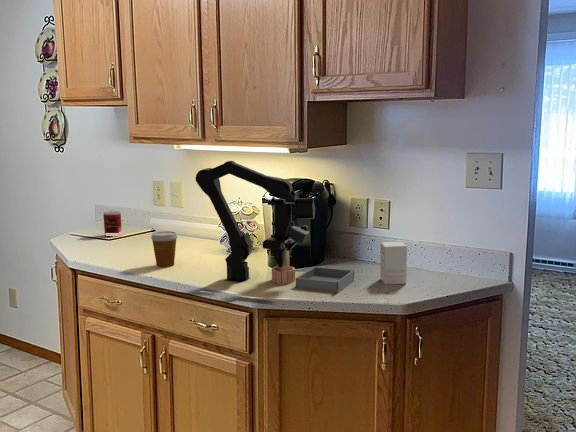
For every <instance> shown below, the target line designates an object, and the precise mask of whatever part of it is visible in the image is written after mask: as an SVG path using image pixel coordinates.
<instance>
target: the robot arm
mask: <svg viewBox="0 0 576 432" xmlns="http://www.w3.org/2000/svg"><path fill="white" fill-rule="evenodd" d="M229 174H230V175H231V176H234V177H236V178H239V179H241V180H244V181H246V182H248V183H251V184H254V185H256V186H258V187H260V188H263V189H264V190H265V191H266V192H267V193H268V194H270V195H271V196H272V198H271V199H270V200H269V201H268V202H267V205H268V206H273V221H272V222H271V226H273V234H271V237H269V238H266V239H264V241H262V249H266V250H269V251H270V253H271V254H272V257H273V258H274V260H275V263H276V265H277V264H278V266H279V267H282V266H283V258H284V251H285V250H289V258H291V253H292V251H293V248H294V247H295V246H296V245H298V243H299V244H303V243H306V242H307V240H308V238H309V236H310V235H311V233H310V232H311V231H310V229H309V225H306V224H304V225H302V226H296V222H295V221H294V220H293V218H292V217H295V218H296V219H297V220H315V216H316V206H315V200H314V199H315V198H314V197H307V198H305V197H304V198H303V197H302V198H300V197H299V196H298V195H297V194H296V192H295V191H294V190H293V185H292V182H291V181H290V180H288V179H286V178H281V177H277V176H270V175H266V174H264V173H262V172H258V171H256V170H254V169H251V168H250V167H247V166H244V165H242V164H239V163H237V162H236V161H234V160H228V161H225V162H224V163H222V164H220V165H217V166H215V167H213V168H212V167H207V168H203V169H200V170H199V171H197V173H196V176H195V182H196V184H197V185H198V187H199V189H201V191H202V192H203V193H204V194H205V195H206V196H208V198H209V199H210V202H211V203H212V206H213V209H214V210H215V212H216V214H217V216H218V218H219V220H220V221H221V224H222V225H223V228H224V230H225V232H226V234H227V236H228V242H229V243H228V244H229V248H230V250H231V253H229V255H228V256H226V258H225V263H226V279H224V281H225V282H232V283H233V282H235V283H243V282H245V281H248V280H249V279H251V277H250V267H249V266H248V261H247V259H248V257H249V256H250V255H251V254H252V253H253V250H254V245H253V244H254V241H253V240H252V238H251V235H250V233H249V232H248V231H247V232H246V233H244V232H243V230H242V229H241V228H240V226H239V224H238V222H237V220H236V218H235V216H234V214H233V212H232V210H231V208H230V205H229V204H228V202H227V200H226V198H225V196H224V194H223V192H222V187H221V181H220V178H223V177H225V176H227V175H229ZM292 215H293V216H292Z"/></svg>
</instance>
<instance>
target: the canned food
mask: <svg viewBox="0 0 576 432" xmlns="http://www.w3.org/2000/svg"><path fill="white" fill-rule="evenodd" d="M121 214H122V213H121V211H117V210H111V211H110V210H109V211H105V212H104V211H103V228H104V234H105V233H119V232H121V231H122V215H121Z"/></svg>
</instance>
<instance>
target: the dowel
mask: <svg viewBox="0 0 576 432" xmlns="http://www.w3.org/2000/svg"><path fill="white" fill-rule="evenodd" d="M276 265H277V266H276V267H277V271H288V270H290V267H291V266H290V257H289V250H285V251H284V258H283V266H282V267H279V266H278V264H277V263H276ZM289 266H290V267H289Z"/></svg>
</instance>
